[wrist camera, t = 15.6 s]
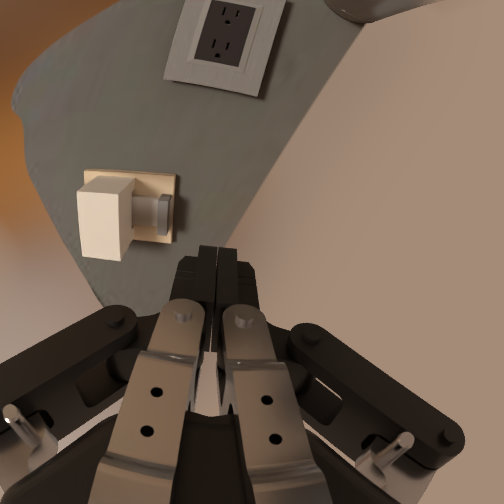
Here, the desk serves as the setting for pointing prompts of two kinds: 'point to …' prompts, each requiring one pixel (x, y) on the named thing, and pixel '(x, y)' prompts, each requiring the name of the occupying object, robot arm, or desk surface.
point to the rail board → (147, 202)
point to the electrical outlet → (224, 43)
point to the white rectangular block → (106, 216)
